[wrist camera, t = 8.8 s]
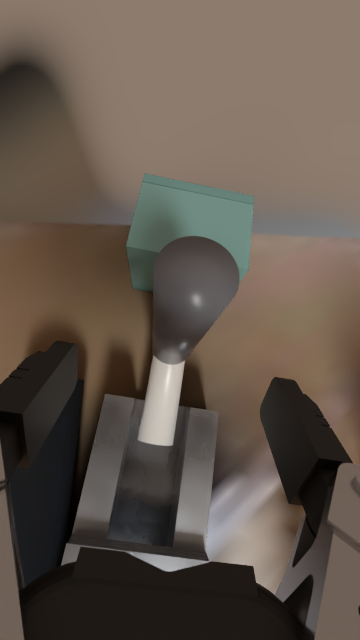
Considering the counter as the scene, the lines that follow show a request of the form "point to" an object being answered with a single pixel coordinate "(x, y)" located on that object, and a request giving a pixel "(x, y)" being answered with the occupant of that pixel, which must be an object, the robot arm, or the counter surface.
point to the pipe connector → (47, 494)
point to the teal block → (186, 223)
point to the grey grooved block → (147, 488)
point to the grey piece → (182, 322)
